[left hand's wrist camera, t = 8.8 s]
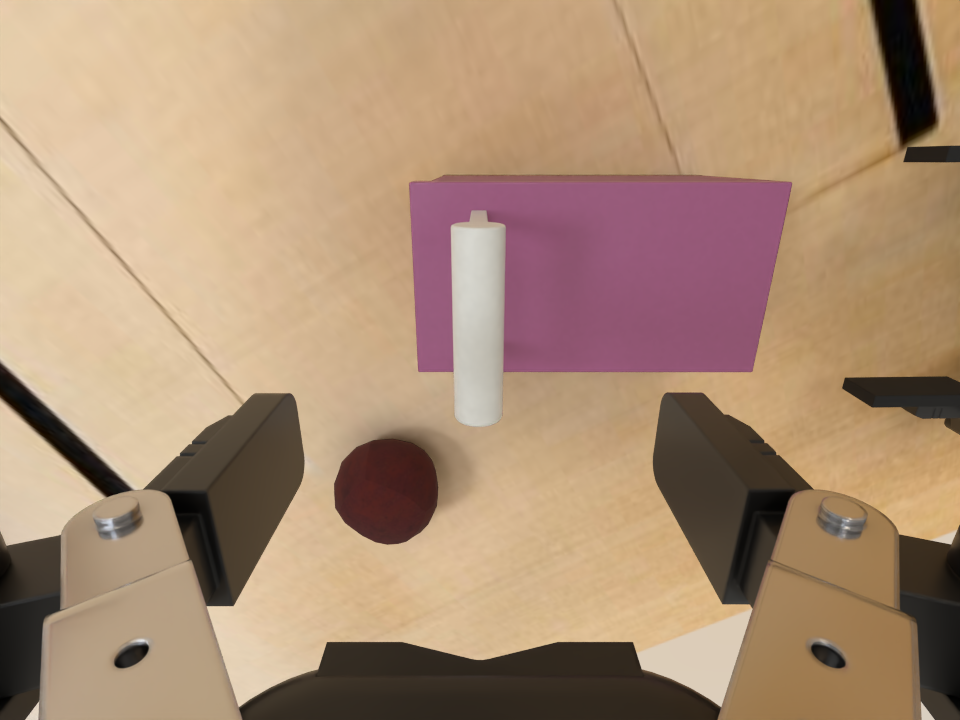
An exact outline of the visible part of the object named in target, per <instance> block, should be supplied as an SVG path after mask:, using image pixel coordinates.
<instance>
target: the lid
mask: <svg viewBox="0 0 960 720" xmlns="http://www.w3.org/2000/svg"><path fill="white" fill-rule="evenodd" d="M791 187H792V183H791V182H783V181H413V182H410V183H409V190H410V211H411V232H412V253H413V273H414V294H415V315H416V336H417V357H418V371H419V372H454V411H455V418H456V419H457V421H459V422H460V423H462V424H464V425H467V426H473V427H484V426H490V425H493V424H495V423H497V422H498V421H500V419H501V418H502V412H503V372H752V371H753V366H754V361H755V357H756V352H757V347H758V342H759V338H760V333H761V328H762V324H763V319H764V314H765V309H766V305H767V300H768V295H769V291H770V286H771V281H772V276H773V272H774V267H775V262H776V258H777V253H778V248H779V243H780V239H781V234H782V229H783V225H784V220H785V215H786V210H787V206H788V201H789V196H790V192H791Z"/></svg>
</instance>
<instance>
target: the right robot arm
mask: <svg viewBox="0 0 960 720" xmlns="http://www.w3.org/2000/svg"><path fill="white" fill-rule="evenodd" d="M904 162H960V146H930V147H907V151H906V155H905V158H904ZM842 389H844V390H845V391H847V392H849V393H850V394H852V395H853V396H855V397H857V398H858V399H860V400H861V401H863V402H864V403H866V404H868V405H869V406H871V407H901V408H903V409H905V410H906V411H908V412H910V413H912V414H913V415H915V416H917V417H920V418H922V419H926V418H946V419H945V426H946V427H948V428H949V429H951V430H953V431H955V432H956V433H958V434H960V382H958V381H956V380H954V379H952V378H949V377H947V376H945V377H865V378H845V380H844V384H843V387H842Z"/></svg>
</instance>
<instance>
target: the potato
mask: <svg viewBox="0 0 960 720" xmlns="http://www.w3.org/2000/svg"><path fill="white" fill-rule="evenodd" d="M334 495H335V508H336V510H337V511H338V513H339V514H340V516H341V518H342V519H343V521H344V522H345V523H346V524H347V525H349V526H350V527H351V528H353V529H354V530H355V531H357V532H358V533H359V534H361V535H362V536H364V537H366V538H368V539H370V540H372V541H374V542H377V543H382V544H387V545H388V544H399V543H403V542H406V541H408V540H409V539H411V538H412V537H414V536H415V535H417V534H419V533H420V532H421V531H422V530H423V529H424V528H425V527H426V526H427V525H428V524H429V522H430V520H431V518H432V515H433V513H434V511H435V509H436V507H437V497H438V483H437V476H436V470H435V467H434V465H433V462H432V460H431V458H430V457H429V456H428V455H427V453H426V452H425V451H424V450H423V449H421V448H419V447H418V446H416V445H414V444H413V443H409V442H405V441H400V440H395V439H386V440H373V441H371V442H368V443H366V444H363V445H361V446H358V447H356V448H355V449H354V450H353V451H352V452H351V453H350V454H349V455H348V456H347V457H346V458H345V459H344V460H343V461H342V463H341V466H340V470H339V472H338V475H337V478H336V480H335V483H334Z"/></svg>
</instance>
